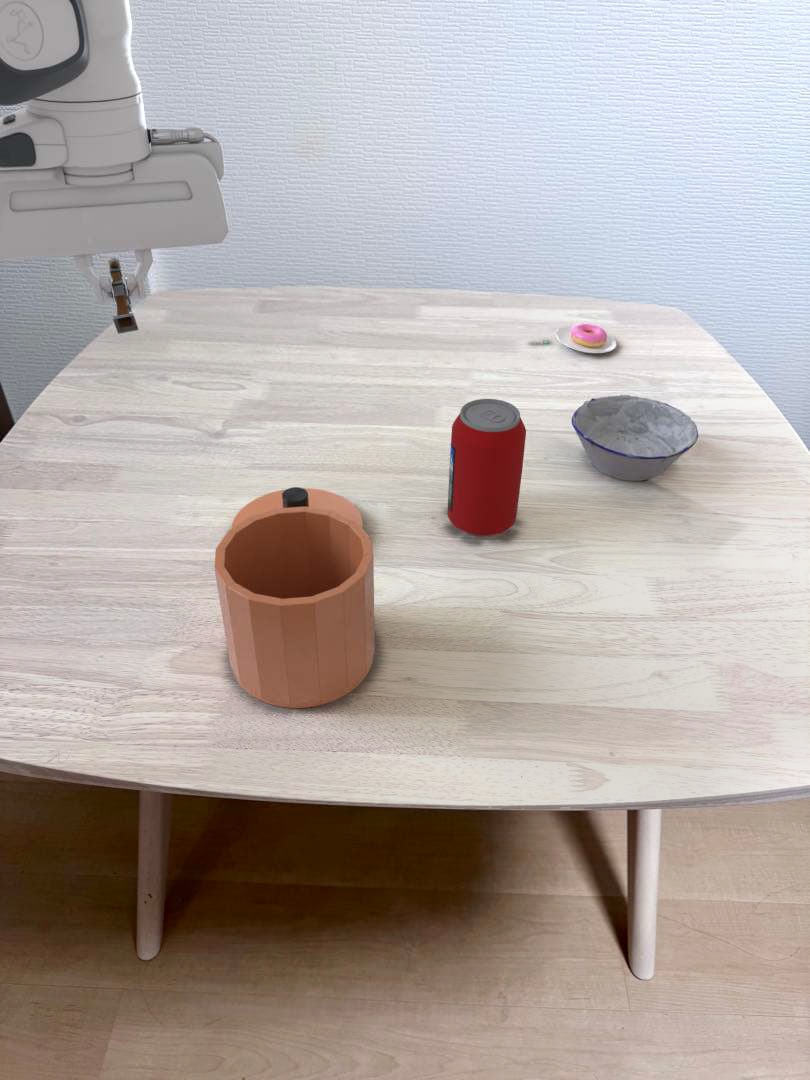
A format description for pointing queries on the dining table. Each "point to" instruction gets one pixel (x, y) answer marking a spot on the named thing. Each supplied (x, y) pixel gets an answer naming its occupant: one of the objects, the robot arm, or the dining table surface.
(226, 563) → the terracotta faceted cylinder
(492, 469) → the beverage can
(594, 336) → the donut
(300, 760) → the dining table surface
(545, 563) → the dining table surface
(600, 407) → the bowl
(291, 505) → the lid
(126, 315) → the wooden post with brackets
